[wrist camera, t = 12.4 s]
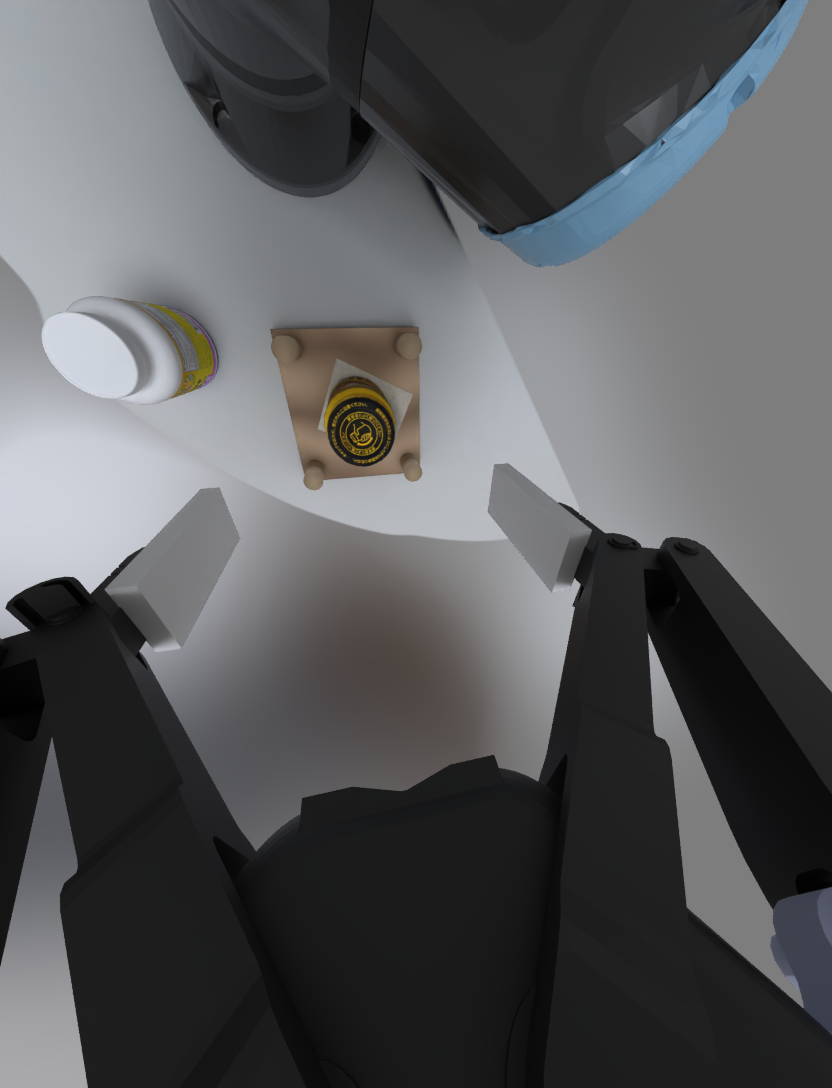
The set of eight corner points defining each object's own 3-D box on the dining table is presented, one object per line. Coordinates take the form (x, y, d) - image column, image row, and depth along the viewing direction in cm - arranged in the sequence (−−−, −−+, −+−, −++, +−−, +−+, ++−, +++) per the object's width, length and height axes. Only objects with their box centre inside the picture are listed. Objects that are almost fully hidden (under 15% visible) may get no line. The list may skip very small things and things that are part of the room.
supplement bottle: (161, 390, 31) (66, 418, 20) (122, 307, 27) (-19, 290, 17) (231, 386, 32) (174, 410, 21) (203, 305, 28) (117, 287, 17)
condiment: (336, 358, 30) (330, 368, 21) (412, 394, 33) (439, 418, 24) (317, 428, 34) (305, 466, 24) (388, 455, 37) (403, 498, 27)
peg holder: (274, 329, 30) (260, 328, 25) (414, 327, 32) (427, 325, 27) (307, 475, 38) (301, 495, 33) (416, 466, 40) (426, 484, 35)
